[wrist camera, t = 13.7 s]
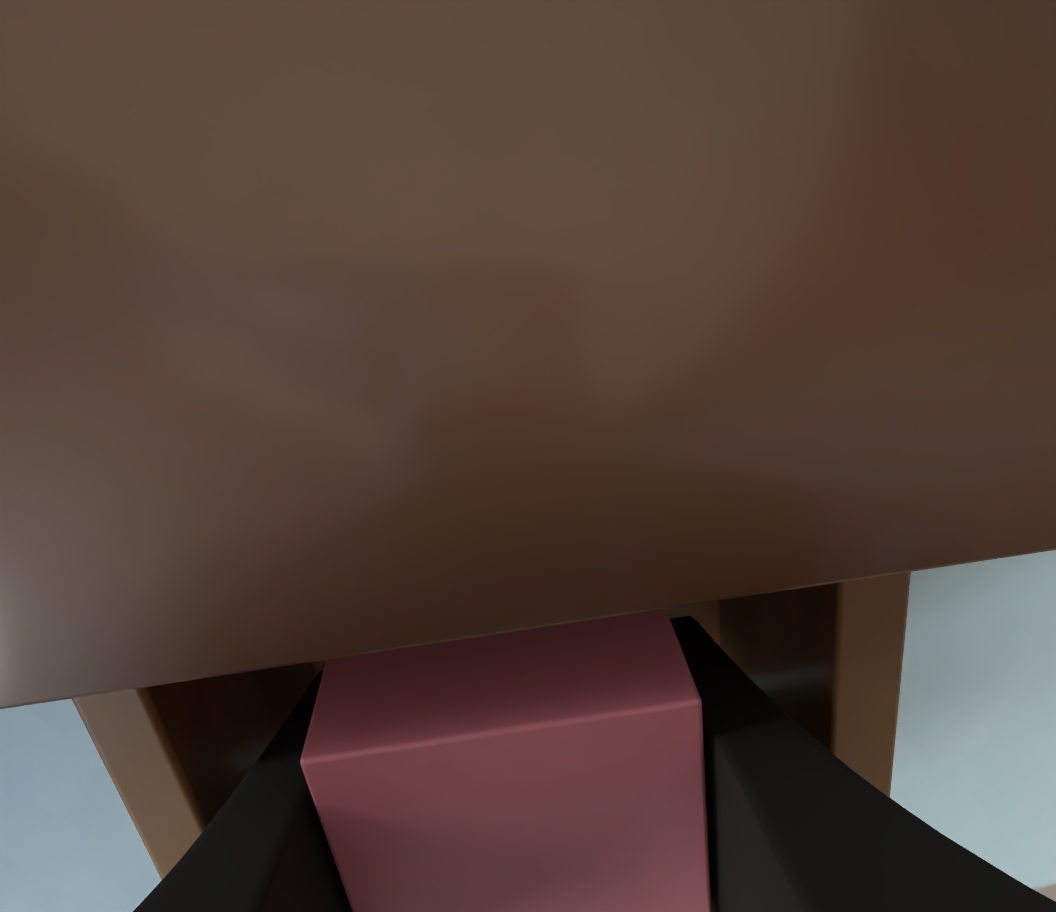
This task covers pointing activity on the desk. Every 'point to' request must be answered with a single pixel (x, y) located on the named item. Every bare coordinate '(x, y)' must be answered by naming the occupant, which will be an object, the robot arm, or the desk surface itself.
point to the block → (516, 772)
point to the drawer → (734, 624)
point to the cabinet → (505, 316)
